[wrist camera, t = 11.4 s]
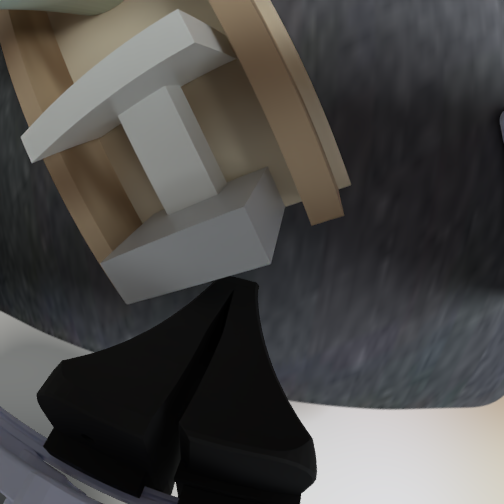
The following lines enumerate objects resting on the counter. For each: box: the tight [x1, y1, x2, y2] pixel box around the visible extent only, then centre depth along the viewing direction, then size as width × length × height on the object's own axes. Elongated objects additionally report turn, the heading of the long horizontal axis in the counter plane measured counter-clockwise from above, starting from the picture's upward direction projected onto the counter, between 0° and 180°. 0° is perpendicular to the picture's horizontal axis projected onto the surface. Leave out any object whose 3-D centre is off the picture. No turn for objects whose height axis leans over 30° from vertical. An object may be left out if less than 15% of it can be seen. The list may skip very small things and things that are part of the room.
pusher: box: [21, 9, 285, 304], centre depth 9 cm, size 6×6×4 cm
